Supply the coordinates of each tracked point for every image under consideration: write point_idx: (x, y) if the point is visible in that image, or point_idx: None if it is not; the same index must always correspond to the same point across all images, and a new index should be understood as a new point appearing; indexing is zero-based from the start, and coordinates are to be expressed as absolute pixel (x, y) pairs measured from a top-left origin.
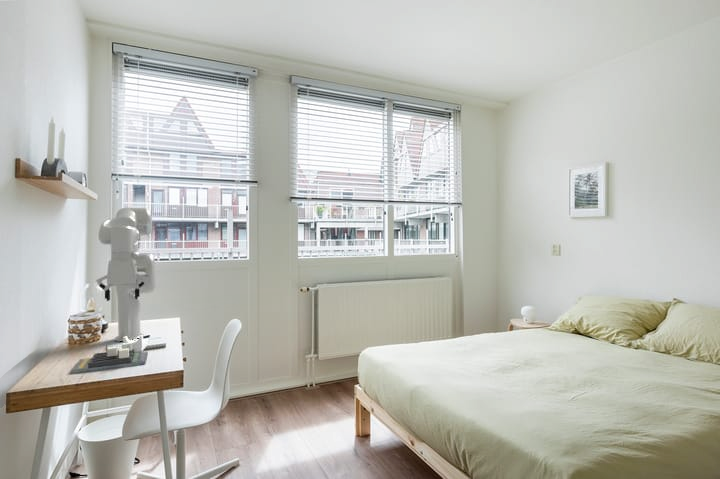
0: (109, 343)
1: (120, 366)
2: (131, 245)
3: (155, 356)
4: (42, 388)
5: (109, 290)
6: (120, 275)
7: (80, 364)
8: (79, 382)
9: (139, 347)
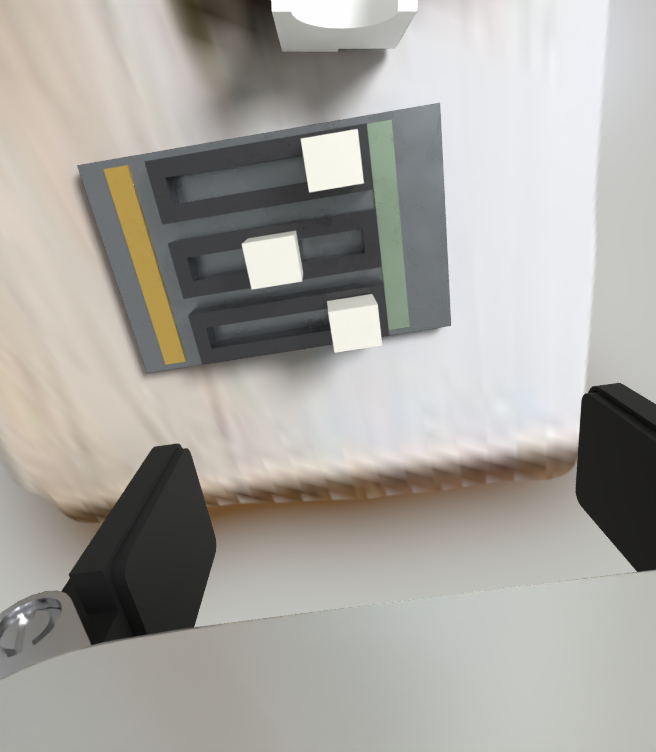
0: None
1: None
2: None
3: (484, 178)
4: None
5: (125, 597)
6: None
7: (138, 283)
8: (241, 479)
9: (385, 39)
